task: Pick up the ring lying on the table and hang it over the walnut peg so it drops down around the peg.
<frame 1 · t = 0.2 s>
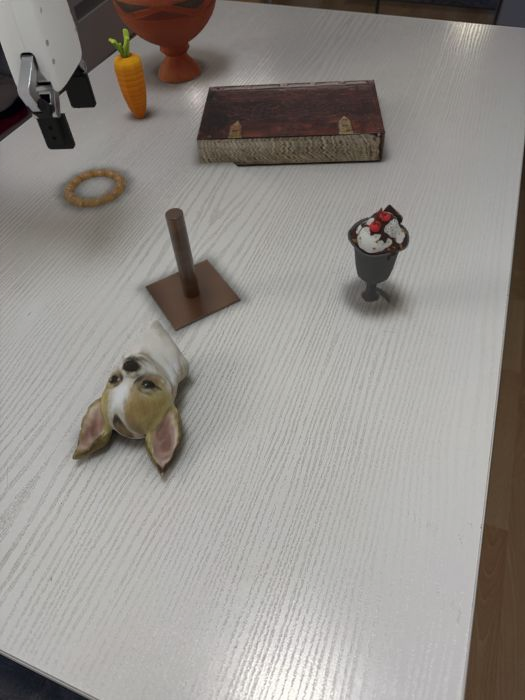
hand: (74, 126, 66), 16 cm above the table, tool pointing down, fingers open, 9 cm apart
carrot: (141, 121, 100), on the table
ring: (95, 188, 85), point 1 cm above the table
goblet: (179, 75, 111), on the table
sundae: (369, 302, 67), on the table
peg: (193, 299, 69), on the table
hardback book: (290, 135, 93), on the table
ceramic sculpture: (148, 416, 58), on the table
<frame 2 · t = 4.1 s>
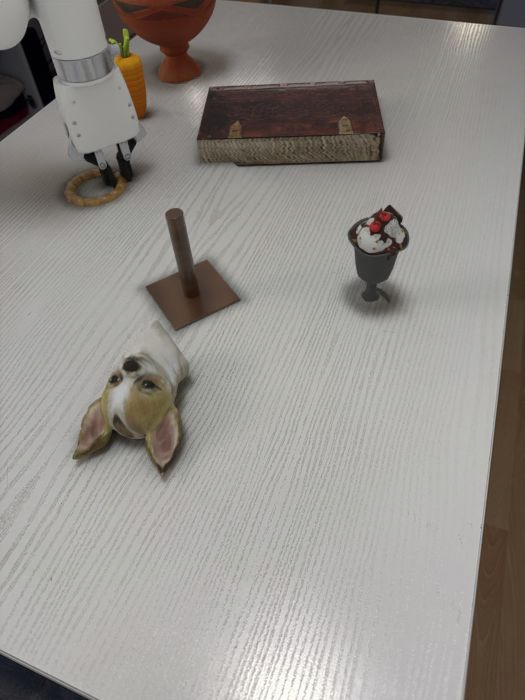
hand: (119, 182, 86), 0 cm above the table, tool pointing down, fingers closed on ring, 2 cm apart
ring: (96, 188, 85), point 1 cm above the table, touching gripper
everything else where it was.
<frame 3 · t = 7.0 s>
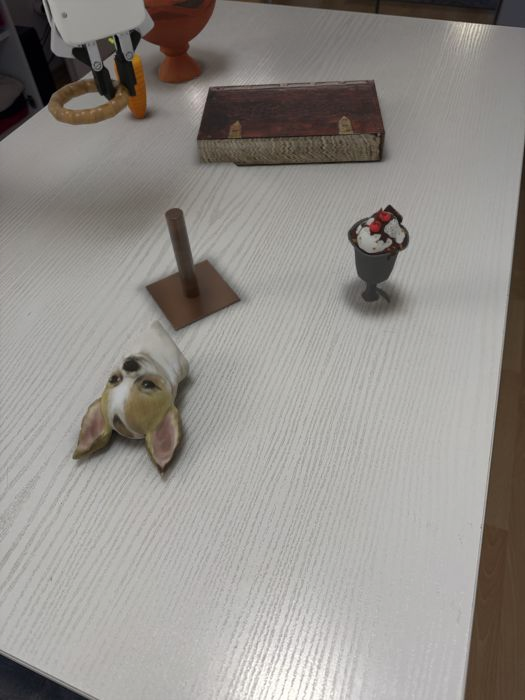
hand: (119, 94, 67), 18 cm above the table, tool pointing down, fingers closed on ring
ring: (89, 100, 66), point 18 cm above the table, touching gripper
everything else where it was.
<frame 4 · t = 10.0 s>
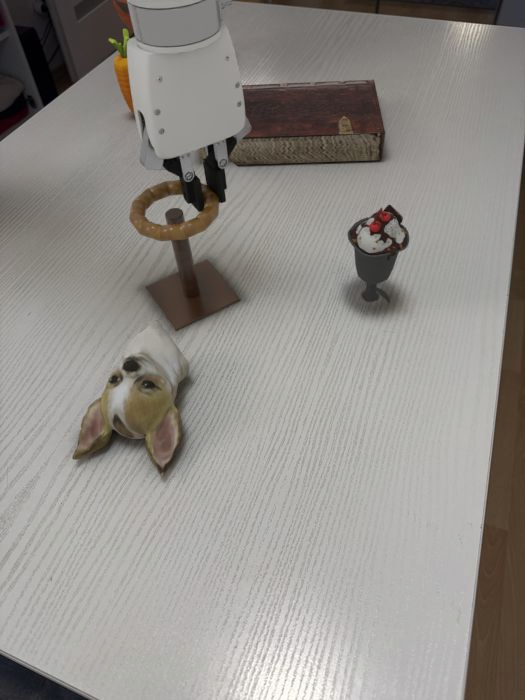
hand: (206, 200, 60), 13 cm above the table, tool pointing down, fingers closed on ring
ring: (174, 209, 59), point 14 cm above the table, touching gripper
everything else where it was.
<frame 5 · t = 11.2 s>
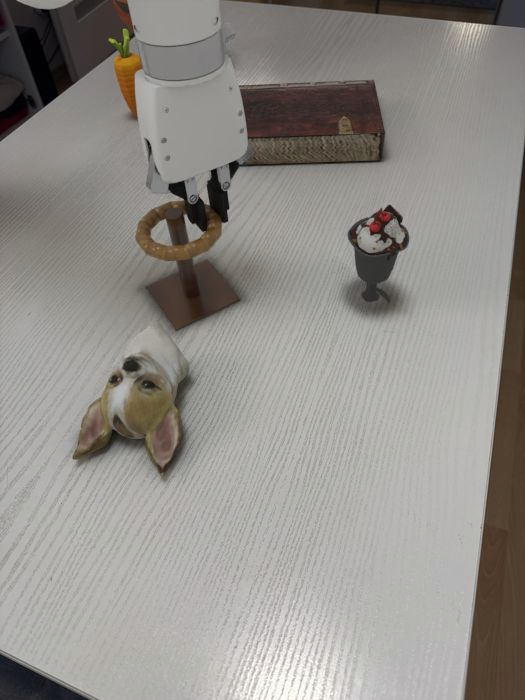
hand: (209, 220, 62), 10 cm above the table, tool pointing down, fingers closed on ring
ring: (179, 229, 61), point 11 cm above the table, touching gripper
everything else where it was.
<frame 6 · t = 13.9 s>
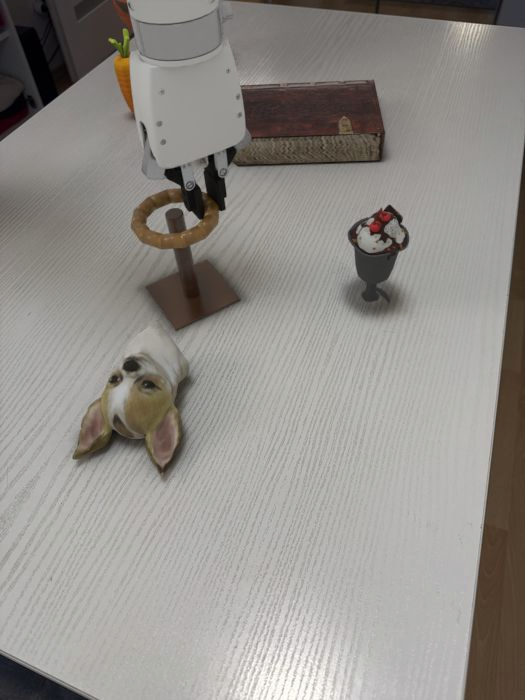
hand: (206, 208, 61), 12 cm above the table, tool pointing down, fingers closed on ring
ring: (175, 217, 60), point 13 cm above the table, touching gripper
everything else where it was.
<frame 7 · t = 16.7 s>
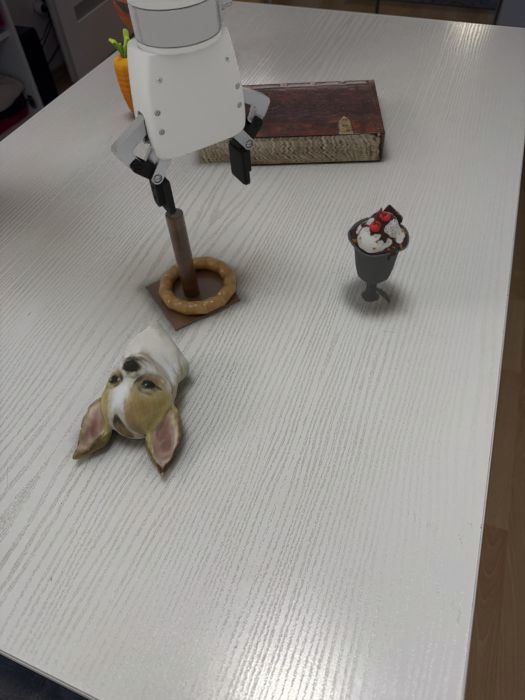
hand: (205, 193, 59), 14 cm above the table, tool pointing down, fingers open, 8 cm apart
ring: (197, 284, 68), point 2 cm above the table, touching peg
everything else where it was.
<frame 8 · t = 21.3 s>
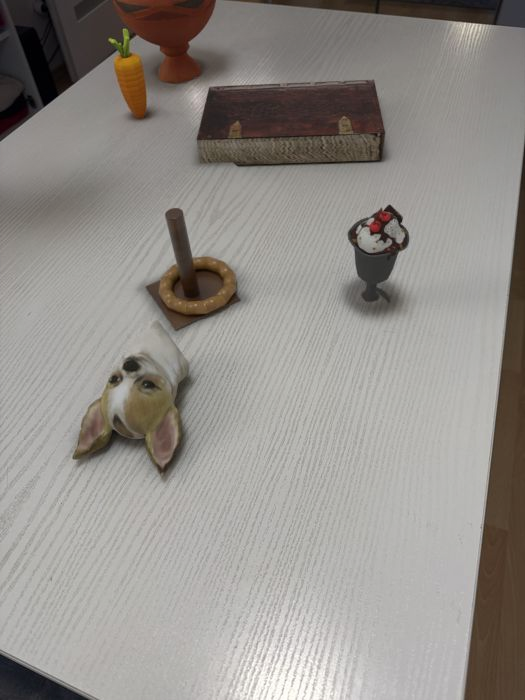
nothing on the table moved.
at the end: ring 1.0 cm from the peg (horizontally); ring 1.0 cm off-centre on the peg, point 2.0 cm above the peg's base; the gripper is holding nothing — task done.
